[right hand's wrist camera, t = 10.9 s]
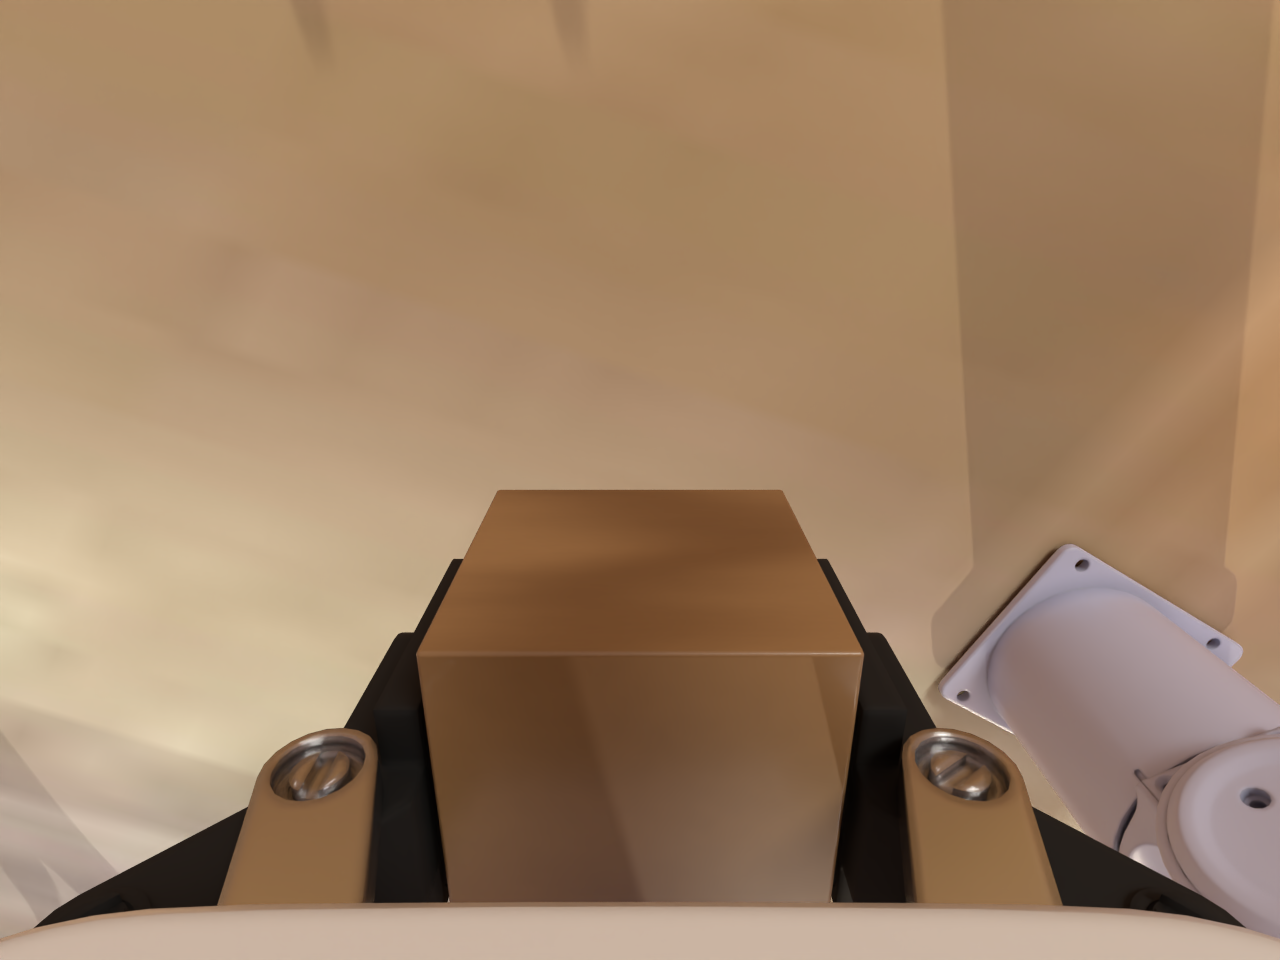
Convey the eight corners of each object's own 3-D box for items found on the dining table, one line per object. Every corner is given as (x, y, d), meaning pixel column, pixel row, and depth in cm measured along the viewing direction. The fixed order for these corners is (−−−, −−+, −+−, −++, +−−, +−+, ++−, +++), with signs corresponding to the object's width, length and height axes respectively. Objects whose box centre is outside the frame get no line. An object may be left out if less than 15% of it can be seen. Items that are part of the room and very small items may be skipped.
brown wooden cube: (782, 488, 12) (866, 652, 7) (763, 734, 13) (821, 980, 9) (497, 488, 12) (413, 652, 7) (516, 734, 13) (458, 980, 9)
